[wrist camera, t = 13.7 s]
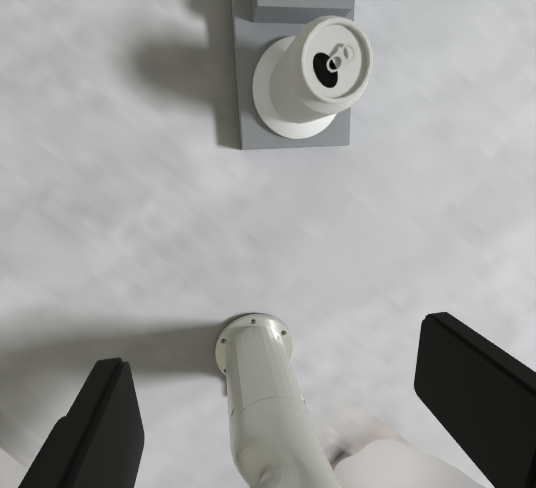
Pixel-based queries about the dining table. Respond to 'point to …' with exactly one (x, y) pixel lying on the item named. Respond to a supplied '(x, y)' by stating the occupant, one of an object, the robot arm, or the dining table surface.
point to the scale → (263, 63)
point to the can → (321, 70)
